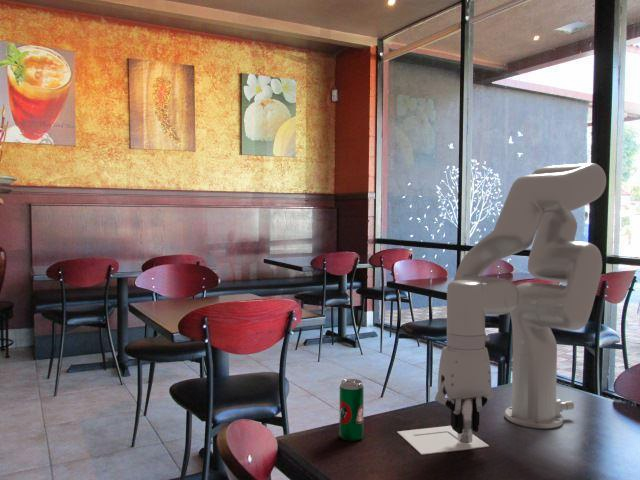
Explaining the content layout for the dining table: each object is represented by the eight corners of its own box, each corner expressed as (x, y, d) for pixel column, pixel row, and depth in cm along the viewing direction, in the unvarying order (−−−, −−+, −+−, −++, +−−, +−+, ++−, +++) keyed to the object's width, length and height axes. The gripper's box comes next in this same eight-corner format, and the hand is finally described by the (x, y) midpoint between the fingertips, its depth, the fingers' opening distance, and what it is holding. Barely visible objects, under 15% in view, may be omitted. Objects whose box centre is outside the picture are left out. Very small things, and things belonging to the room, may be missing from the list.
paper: (459, 425, 125) (459, 424, 125) (489, 446, 114) (489, 445, 114) (397, 432, 122) (397, 431, 122) (421, 454, 110) (421, 453, 110)
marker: (467, 436, 117) (468, 384, 116) (475, 442, 114) (476, 388, 113) (454, 438, 116) (454, 385, 115) (462, 444, 113) (462, 390, 112)
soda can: (361, 443, 116) (361, 385, 115) (337, 441, 117) (337, 384, 116) (364, 433, 121) (364, 378, 120) (341, 432, 122) (341, 377, 121)
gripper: (490, 335, 120) (490, 420, 120) (420, 340, 115) (420, 427, 116) (511, 342, 112) (510, 433, 113) (437, 348, 108) (437, 442, 109)
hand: (465, 429), depth 115 cm, fingers closed on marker, 3 cm apart
